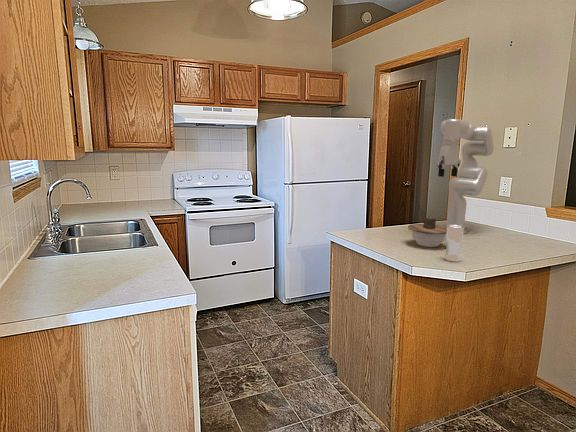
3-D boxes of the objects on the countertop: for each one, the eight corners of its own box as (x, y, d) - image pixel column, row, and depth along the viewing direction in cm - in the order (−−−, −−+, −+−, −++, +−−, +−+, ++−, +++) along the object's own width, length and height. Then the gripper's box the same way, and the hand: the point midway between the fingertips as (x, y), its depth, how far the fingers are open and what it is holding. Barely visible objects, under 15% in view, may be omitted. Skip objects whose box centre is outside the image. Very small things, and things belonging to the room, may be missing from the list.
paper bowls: (429, 250, 183) (431, 234, 181) (405, 243, 195) (406, 227, 194) (450, 246, 190) (451, 231, 189) (425, 240, 203) (426, 225, 202)
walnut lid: (428, 224, 205) (429, 213, 204) (459, 232, 187) (461, 220, 186) (399, 227, 196) (400, 215, 195) (429, 235, 178) (430, 223, 177)
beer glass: (452, 262, 164) (456, 228, 161) (439, 258, 170) (443, 225, 167) (463, 260, 167) (467, 227, 164) (450, 256, 173) (454, 223, 170)
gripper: (456, 143, 208) (452, 175, 211) (433, 143, 200) (430, 176, 203) (468, 144, 201) (464, 176, 204) (445, 143, 193) (441, 177, 196)
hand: (447, 176), depth 204 cm, fingers open, 9 cm apart
